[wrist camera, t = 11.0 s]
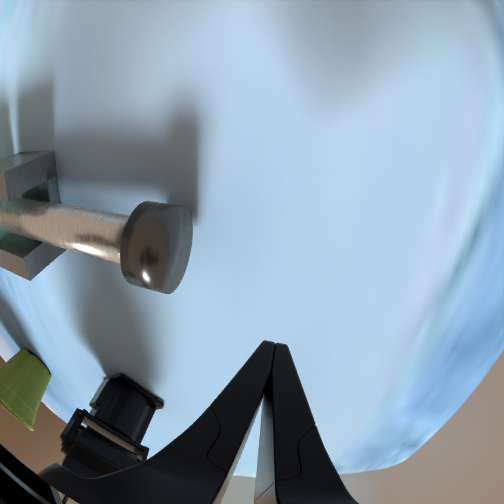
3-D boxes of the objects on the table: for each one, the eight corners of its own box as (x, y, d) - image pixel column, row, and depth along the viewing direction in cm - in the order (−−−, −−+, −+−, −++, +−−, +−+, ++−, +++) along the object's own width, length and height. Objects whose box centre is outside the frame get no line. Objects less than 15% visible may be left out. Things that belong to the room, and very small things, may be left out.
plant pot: (15, 352, 37) (-14, 390, 28) (12, 327, 32) (-26, 373, 22) (60, 392, 40) (33, 434, 30) (65, 376, 34) (31, 428, 24)
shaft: (193, 194, 15) (154, 230, 11) (192, 264, 17) (161, 311, 13) (14, 176, 16) (-25, 197, 13) (23, 224, 19) (-11, 249, 15)
